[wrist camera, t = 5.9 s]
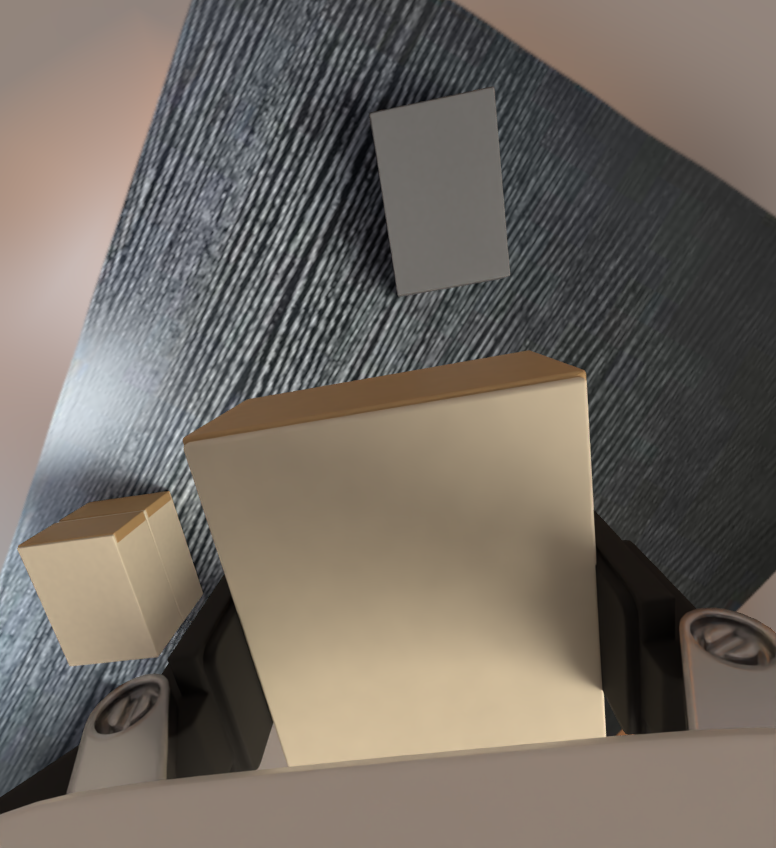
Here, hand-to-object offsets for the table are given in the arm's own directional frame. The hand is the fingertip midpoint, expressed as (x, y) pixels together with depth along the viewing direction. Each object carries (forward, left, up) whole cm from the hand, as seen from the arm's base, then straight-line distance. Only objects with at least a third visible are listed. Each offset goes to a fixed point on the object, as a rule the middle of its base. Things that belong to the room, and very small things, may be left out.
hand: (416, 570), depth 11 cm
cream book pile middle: (+10, -24, -18) cm, 32 cm away
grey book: (-12, +4, -21) cm, 25 cm away
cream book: (0, 0, -1) cm, 1 cm away
